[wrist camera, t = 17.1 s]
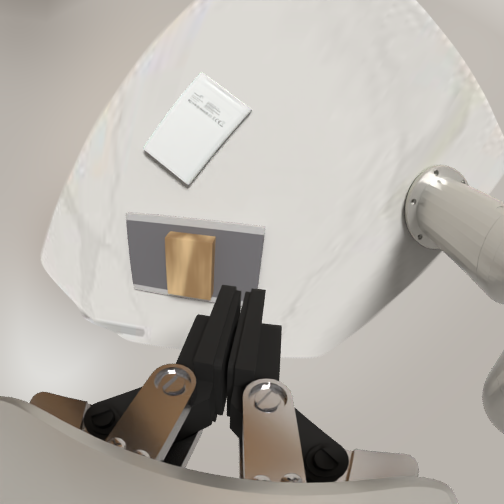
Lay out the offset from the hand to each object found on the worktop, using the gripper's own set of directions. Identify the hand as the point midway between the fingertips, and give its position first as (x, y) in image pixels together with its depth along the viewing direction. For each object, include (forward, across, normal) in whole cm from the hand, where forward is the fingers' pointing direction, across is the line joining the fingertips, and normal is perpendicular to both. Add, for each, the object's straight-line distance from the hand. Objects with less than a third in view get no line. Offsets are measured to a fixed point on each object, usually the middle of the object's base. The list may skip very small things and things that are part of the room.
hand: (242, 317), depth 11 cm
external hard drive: (+26, +10, -7) cm, 29 cm away
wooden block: (+24, +13, +12) cm, 29 cm away
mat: (+25, +10, +12) cm, 30 cm away
